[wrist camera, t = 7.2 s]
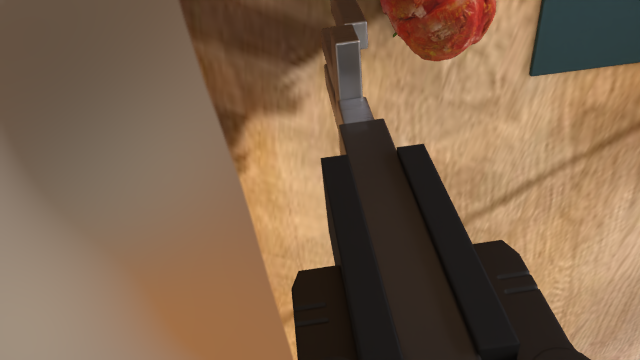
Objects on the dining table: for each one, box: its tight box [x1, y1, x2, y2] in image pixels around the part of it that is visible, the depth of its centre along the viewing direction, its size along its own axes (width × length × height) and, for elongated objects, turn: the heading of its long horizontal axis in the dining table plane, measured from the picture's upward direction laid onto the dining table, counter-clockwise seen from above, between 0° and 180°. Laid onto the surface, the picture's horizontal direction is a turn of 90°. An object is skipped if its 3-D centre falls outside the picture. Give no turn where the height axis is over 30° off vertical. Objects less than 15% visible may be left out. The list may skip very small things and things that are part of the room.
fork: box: [321, 0, 481, 360], centre depth 15 cm, size 6×2×20 cm, turn 5°
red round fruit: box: [380, 0, 496, 61], centre depth 34 cm, size 7×7×10 cm
